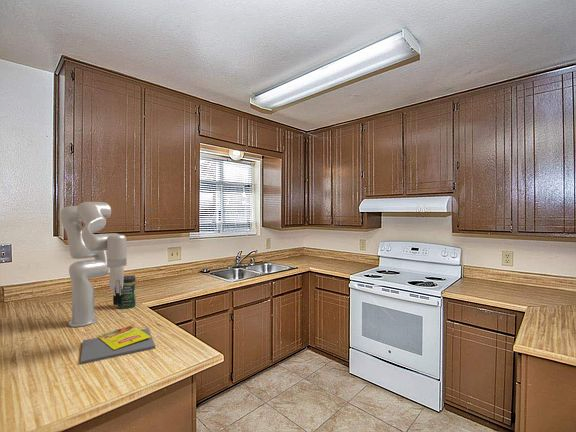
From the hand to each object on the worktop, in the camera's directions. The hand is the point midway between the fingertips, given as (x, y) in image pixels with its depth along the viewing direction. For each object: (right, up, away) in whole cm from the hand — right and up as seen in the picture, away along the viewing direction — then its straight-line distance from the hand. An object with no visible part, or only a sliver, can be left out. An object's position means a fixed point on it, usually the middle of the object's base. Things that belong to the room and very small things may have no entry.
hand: (117, 304), depth 137 cm
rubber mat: (+3, -16, -4) cm, 17 cm away
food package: (-5, -15, +7) cm, 17 cm away
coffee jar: (-20, -15, +47) cm, 53 cm away
